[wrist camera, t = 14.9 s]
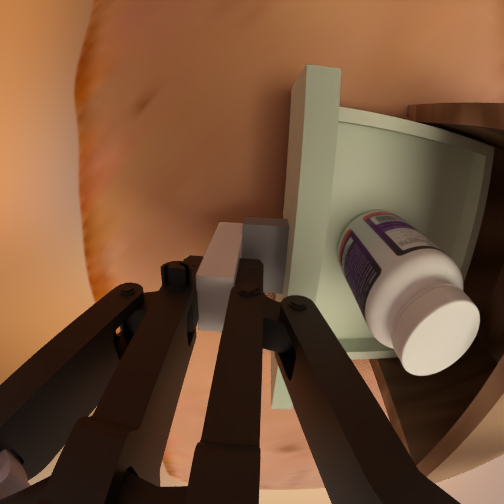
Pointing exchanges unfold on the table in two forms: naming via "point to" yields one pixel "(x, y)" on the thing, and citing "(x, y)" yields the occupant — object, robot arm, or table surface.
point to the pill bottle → (407, 292)
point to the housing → (482, 348)
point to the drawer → (360, 202)
